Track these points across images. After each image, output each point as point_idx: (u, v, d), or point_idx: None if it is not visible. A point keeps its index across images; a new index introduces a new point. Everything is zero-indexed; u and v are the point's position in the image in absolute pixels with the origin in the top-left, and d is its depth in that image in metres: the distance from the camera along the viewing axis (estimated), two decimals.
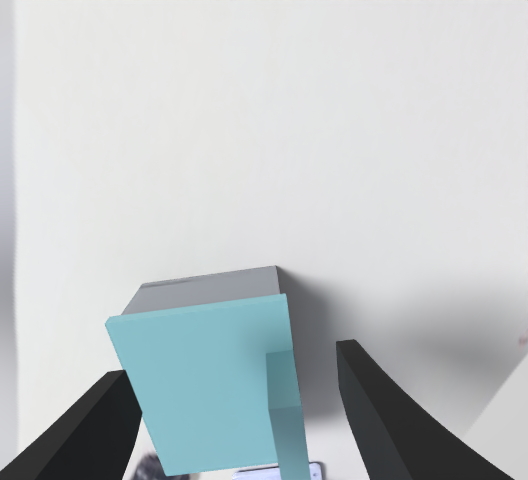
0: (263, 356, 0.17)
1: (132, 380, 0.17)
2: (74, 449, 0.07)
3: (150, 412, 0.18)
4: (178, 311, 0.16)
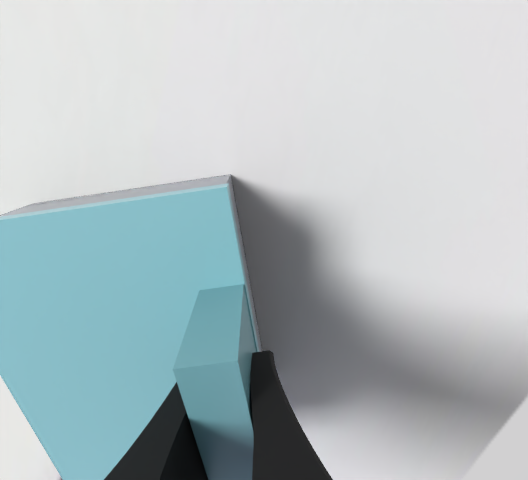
0: (196, 295, 0.10)
1: None
2: (184, 435, 0.07)
3: (26, 391, 0.11)
4: (44, 212, 0.09)
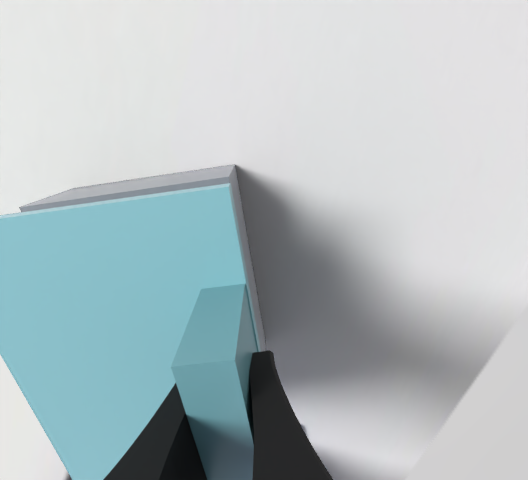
0: (197, 294, 0.10)
1: None
2: (184, 435, 0.07)
3: (33, 384, 0.12)
4: (50, 210, 0.09)
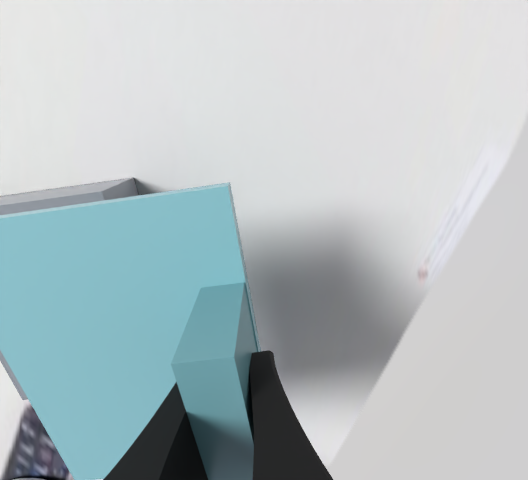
0: (197, 293, 0.10)
1: None
2: (184, 435, 0.07)
3: (34, 383, 0.12)
4: (51, 210, 0.10)
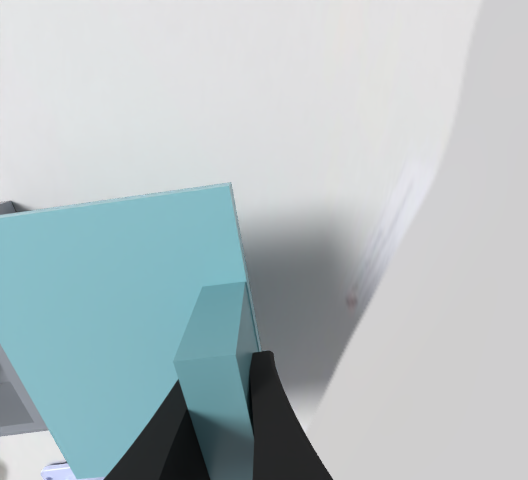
0: (199, 292, 0.10)
1: None
2: (184, 436, 0.07)
3: (36, 381, 0.12)
4: (54, 209, 0.10)
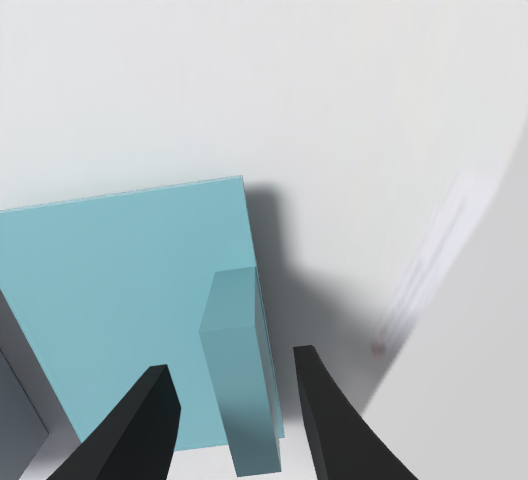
0: (212, 276, 0.11)
1: (21, 315, 0.12)
2: (129, 442, 0.07)
3: (55, 365, 0.13)
4: (78, 200, 0.10)
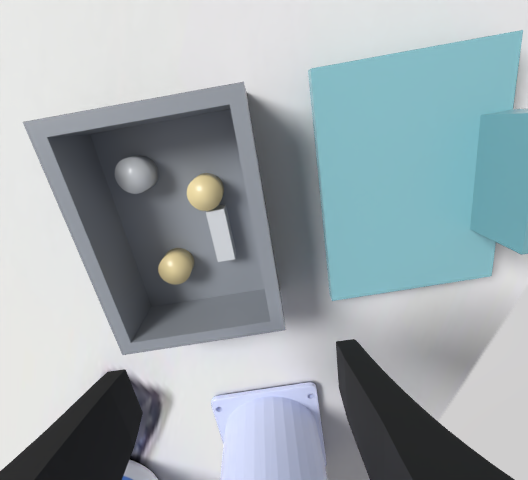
0: (477, 119, 0.15)
1: (324, 156, 0.15)
2: (74, 449, 0.07)
3: (334, 204, 0.16)
4: (393, 54, 0.14)
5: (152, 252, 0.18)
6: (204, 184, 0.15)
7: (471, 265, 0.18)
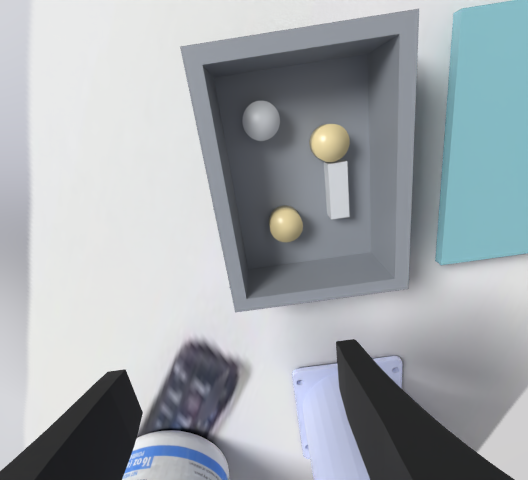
0: None
1: (460, 106, 0.15)
2: (74, 449, 0.07)
3: (461, 159, 0.15)
4: None
5: (258, 209, 0.17)
6: (333, 132, 0.15)
7: None
